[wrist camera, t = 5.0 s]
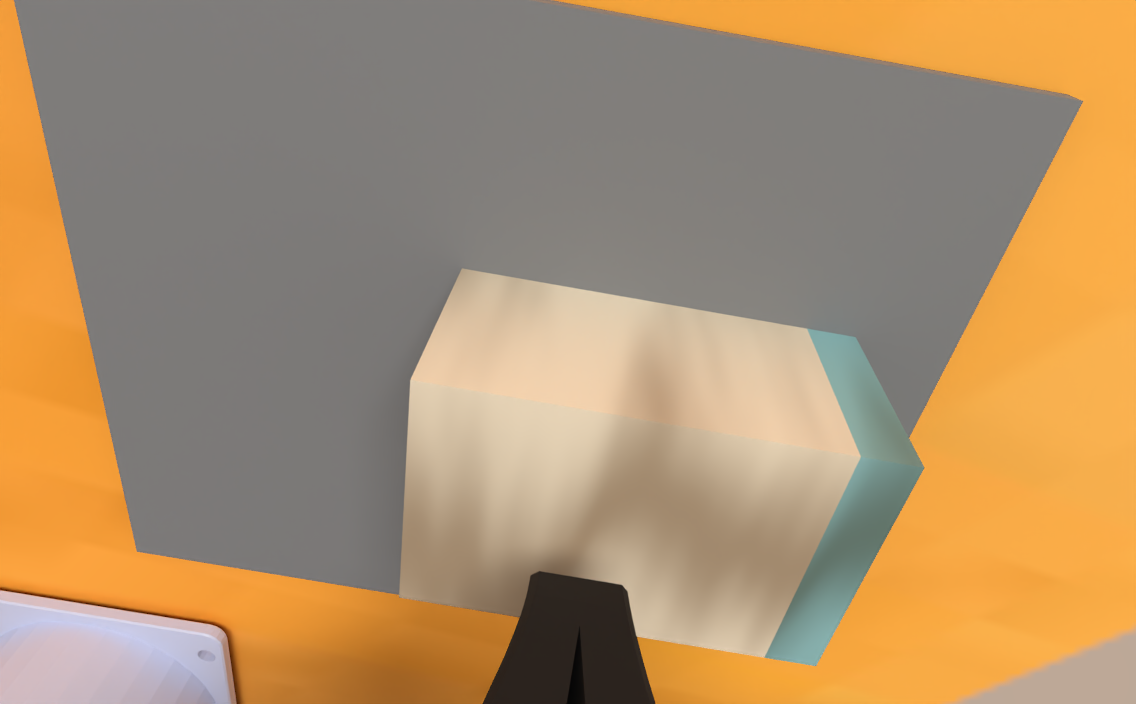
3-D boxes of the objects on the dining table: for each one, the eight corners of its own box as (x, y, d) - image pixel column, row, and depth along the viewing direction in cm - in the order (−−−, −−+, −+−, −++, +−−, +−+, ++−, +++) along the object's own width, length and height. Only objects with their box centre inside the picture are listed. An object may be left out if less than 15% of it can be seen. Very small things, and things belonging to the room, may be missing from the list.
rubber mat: (790, 644, 20) (794, 659, 20) (147, 537, 20) (137, 551, 20) (1067, 94, 12) (1083, 101, 12) (14, -99, 12) (-8, -99, 12)
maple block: (445, 459, 17) (779, 516, 17) (399, 597, 14) (815, 665, 14) (461, 268, 14) (856, 337, 15) (410, 380, 11) (924, 467, 11)
